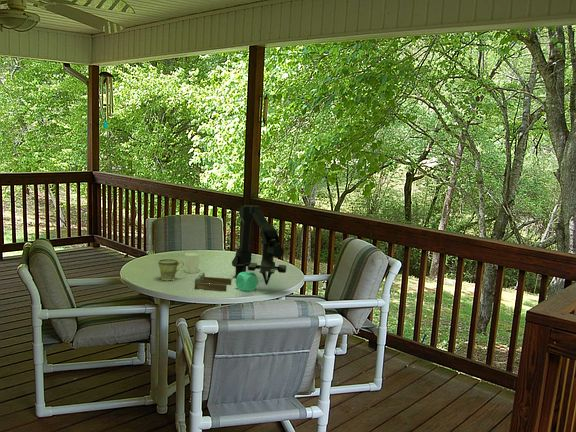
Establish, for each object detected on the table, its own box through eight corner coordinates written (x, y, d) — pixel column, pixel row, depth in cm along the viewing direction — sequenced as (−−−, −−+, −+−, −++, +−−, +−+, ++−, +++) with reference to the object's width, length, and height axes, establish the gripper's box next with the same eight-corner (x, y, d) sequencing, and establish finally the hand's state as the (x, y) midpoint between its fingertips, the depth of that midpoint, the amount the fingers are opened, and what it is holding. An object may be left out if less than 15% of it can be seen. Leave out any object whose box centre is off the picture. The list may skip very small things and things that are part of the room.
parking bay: (201, 282, 285) (201, 272, 284) (231, 284, 284) (231, 274, 283) (194, 289, 271) (194, 279, 271) (225, 291, 270) (226, 281, 269)
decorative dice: (247, 286, 282) (248, 271, 281) (257, 290, 276) (258, 274, 275) (235, 288, 277) (235, 272, 275) (244, 292, 271) (245, 276, 270)
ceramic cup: (158, 282, 281) (158, 262, 280) (157, 277, 290) (157, 258, 289) (184, 281, 284) (184, 262, 283) (182, 276, 294) (183, 258, 293)
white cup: (181, 271, 306) (182, 253, 304) (193, 269, 311) (193, 252, 310) (189, 274, 300) (190, 256, 299) (201, 272, 306) (202, 254, 304)
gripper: (246, 255, 266) (245, 287, 268) (285, 258, 264) (283, 290, 266) (250, 251, 277) (248, 281, 279) (287, 253, 275) (285, 284, 277)
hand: (266, 284), depth 275 cm, fingers closed
